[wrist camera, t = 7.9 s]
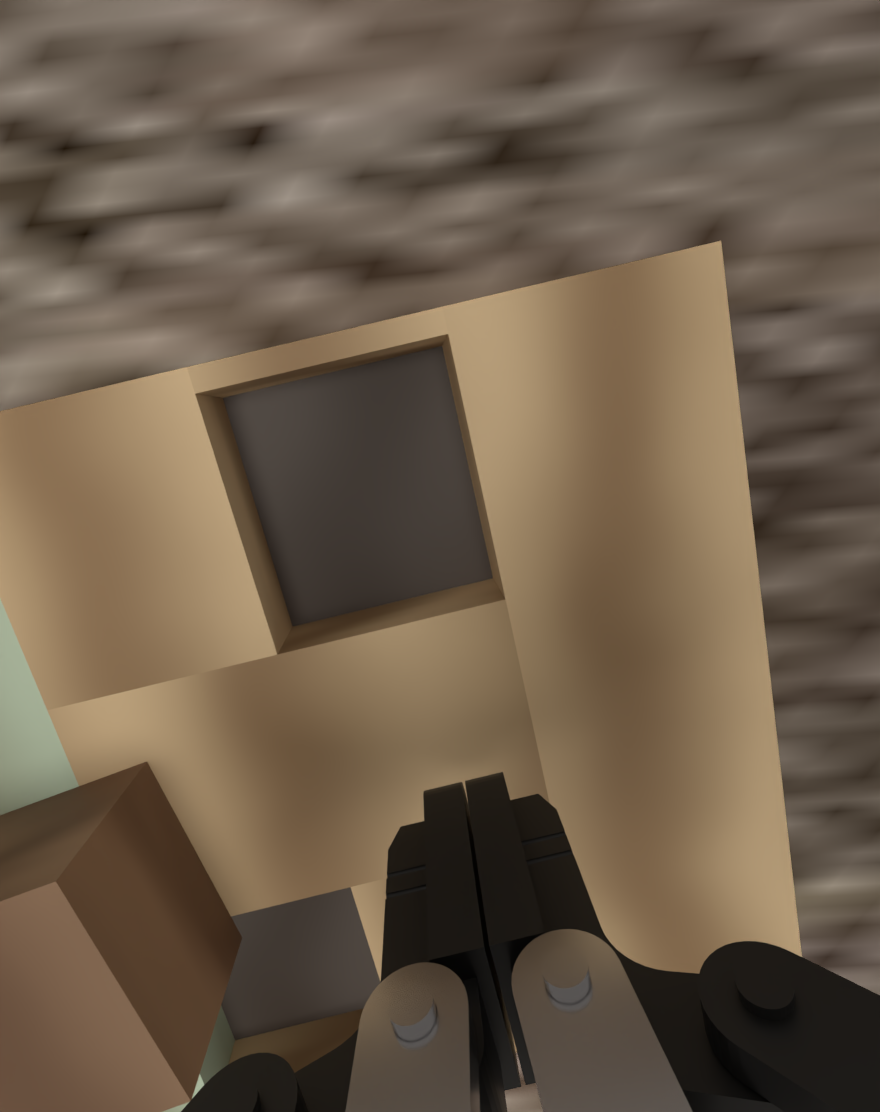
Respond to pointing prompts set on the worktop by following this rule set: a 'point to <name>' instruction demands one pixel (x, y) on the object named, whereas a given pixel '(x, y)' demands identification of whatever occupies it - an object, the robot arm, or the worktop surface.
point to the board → (411, 620)
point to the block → (106, 951)
